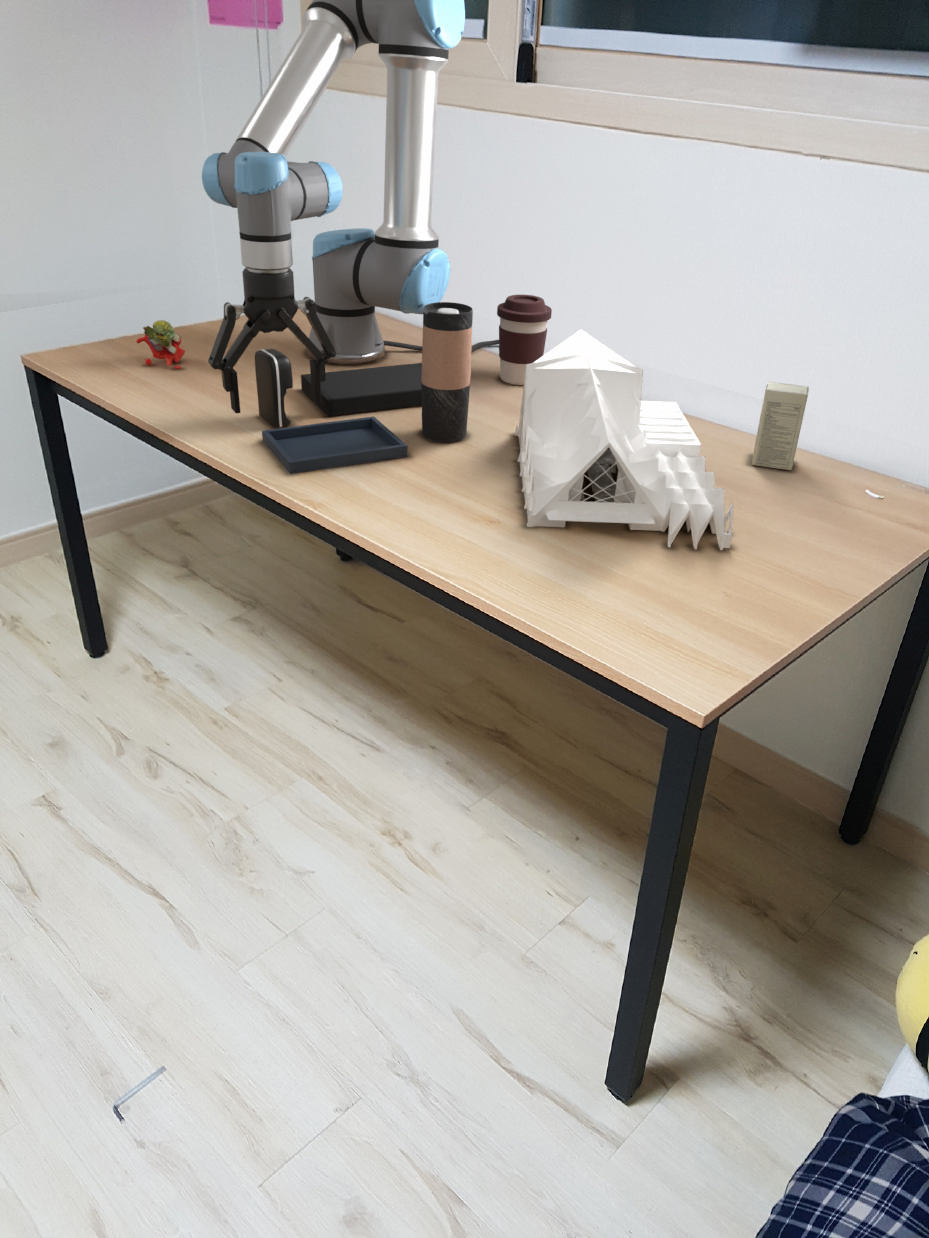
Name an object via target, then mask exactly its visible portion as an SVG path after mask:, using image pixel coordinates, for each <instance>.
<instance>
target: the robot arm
mask: <svg viewBox="0 0 929 1238" xmlns="http://www.w3.org/2000/svg"><path fill="white" fill-rule="evenodd" d="M465 23H466V8H465V0H312V1H311V3H310V4H309V5H308V7H307V9H306V10H305V12H304V13H303V15H302V19H301V27H302V30H301V31H300V33H299V35H298V37H297V38H296V40H295V41H294V43H293V45H292V46H291V48H290V50H289V52H288V53H287V55H286V57H285V58H284V59H283V61H282V63H281V65H280V66H279V68H278V70H277V71H276V73H275V75H274V77H273V78H272V80H271V81H270V83H269V85H268V86H267V88H266V89H265V91H264V93H263V95H262V96H261V98H260V99H259V101H258V103H257V104H256V106H255V108H254V109H253V111H252V113H251V114H250V115H249V118H248V119H247V121H246V123H245V124H244V126H243V128H242V129H241V131H240V133H239V134H238V136H237V138H236V139H235V142H234V143H233V145H232V146H231V148H230V150H229V151H228V152H224V151H220V152H215V153H212V154H211V155H209V156H208V157H206V159H205V161H204V163H203V165H202V170H201V182H202V186H203V190H204V191H205V193H206V195H207V196H208V198H209V199H210V200H211V201H213V202H214V203H216V204H220V205H223V206H228V207H231V208H234V209H237V219H238V228H239V233H238V234H239V243H240V255H241V257H240V259H241V265H242V266H243V267H245V268H243V270H242V272H241V274H242V284H243V285H242V287H243V296H244V297H243V298H244V300H243V303H242V304H231V302H229V301H227V302H224V303H223V318H222V321H221V324H220V326H219V329H218V332H217V335H216V338H215V341H214V343H213V346H212V348H211V351H210V354H209V356H208V359H207V363H208V364H209V366H210V367H211V368H212V369H213V370H218V371H220V373H221V381H222V382H221V383H222V387H223V389H224V391H225V392H226V393H229V397H230V399H229V400H230V408H231V409H232V411H233V412H234V414H241V403H240V391H239V379H238V372H237V370H236V369H234V368H235V366H236V365H237V363H238V361H240V358H241V357H242V355H243V354H244V353H245V351H246V350H247V348H248V347H249V345H250V344H251V343H252V341H253V339H254V338H256V337H257V336H258V334H259V333H260V332H261V333H263V334H269V333H273V332H277V333H281V332H284V331H285V330H286V329H288V330H289V331H290V332H291V333H292V334H293V335H294V337H295V338H296V339H297V340H298V341H299V342H300V343H301V344H302V345H303V346H304V347H305V348H306V350H307V356H309V358H311V359H309V374H310V377H311V398H312V400H313V401H315V402H316V403H317V404H319V403H321V384H320V382H322V381H325V379H326V372H327V371H326V365H327V364H331V365H332V364H333V365H363V364H368V363H373V362H376V361H379V360H381V359H382V358H383V357H384V356H385V346H387V347H392V348H393V347H394V348H400V349H407V350H412V351H417V352H422V346H421V345H417V344H409V343H404V342H399V341H397V342H396V341H389V340H384V339H383V336H382V332H381V329H380V326H379V323H378V319H377V316H376V308H382V309H385V310H392V311H397V312H401V313H403V314H405V315H409V314H415V315H423V307H424V306H425V305H427V304H430V303H437V302H442V299H443V298H444V296H445V294H446V292H447V289H448V287H449V286H448V285H449V281H450V276H451V263H450V260H449V256H448V254H447V253H446V252H445V251H443V249H440V248H439V241H440V239H439V238H440V236H439V234H437V231H435V230H434V228H433V227H432V217H433V216H432V215H433V196H434V195H433V194H434V176H435V175H434V174H435V156H436V155H435V154H436V133H437V114H438V94H439V92H438V91H439V73H440V71H441V70H442V69H443V68H444V67H445V66H446V65H447V64H448V63H449V52H450V51H449V50H450V49H453V48H455V47H457V45H458V44H459V43H460V42H461V39H462V35H463V34H464V30H465ZM368 44H375V45H376V44H377V45H378V58H379V59H380V60H381V61H382V62H383V64H384V66H385V67H386V104H385V107H386V109H385V140H384V141H385V142H384V145H385V146H384V147H385V148H384V180H383V181H384V183H383V186H384V187H383V193H384V194H383V220H382V221H383V222H382V224H380V226H379V227H378V228H377V229H376V230H375V231H374V230H373V229H371V228H367V227H365V228H345V229H335V230H329V231H324V232H323V231H322V232H320V233H318V234H316V235H315V237H314V238H313V240H312V256H311V261H312V275H313V277H312V278H313V293H314V295H313V296H314V300H313V299H312V298H311V297H309V296H304V297H303V299H299V300H296V298H295V281H294V279H295V278H294V271H293V270H292V269H291V267H292V266H293V265H294V258H293V244H292V224H291V222H293V221H300V220H304V219H311V218H316V217H317V218H322V216H325V215H327V214H330V213H333V212H334V211H336V210H337V209H338V207H339V206H340V204H341V202H342V200H343V194H344V193H343V191H344V190H343V182H342V179H341V176H340V174H339V172H338V171H337V169H336V168H335V167H333V166H332V165H331V164H329V163H327V162H324V161H314V160H310V161H308V162H296V161H289V160H287V155H288V153H289V152H290V150H291V149H292V147H293V145H294V144H295V142H296V140H297V139H298V137H299V135H300V133H301V131H302V130H303V128H304V126H305V125H306V123H307V121H308V120H309V118H310V116H311V115H312V113H313V111H314V110H315V108H316V106H317V104H319V101H320V99H321V98H322V96H323V95H324V93H325V91H326V89H327V88H328V86H329V84H330V83H331V81H332V79H333V78H334V76H335V74H336V72H337V71H338V69H339V68H340V66H341V64H342V63H345V62H348V61H350V60H351V59H352V58H353V56H354V55H355V54H356V51H357V50H358V49H359V48H360V47H362V46H366V45H368ZM298 310H299V311H300V312H301V313H302V314H304V315H305V317H306V319H307V321H308V324H309V325H310V326H311V328H310V331H309V336H307V335H306V333H305V332H304V331H303V330H302V328H301V327H299V325H298V324H297V322H295V321H294V320H293V319H294V317H295V315H296V314H297V313H298ZM242 314H244V316H245V317H246V318H247V320H246V322H245V323H244V324H243V326H242V330H241V331H240V332H239V334H238V335H237V337H236V338H235V340H234V342H233V343H232V344H231V345H230V347H229V349H228V350H227V348H228V345H229V342H230V340H231V337H232V334H233V332H234V329H235V327H236V323H237V321H238V320H239V319H240V317H241V316H242ZM497 345H499V339H494V340H486V341H480V342H479V341H478V342H476V343H474V344H472V347H471V353H472V352H474V351H476V350H477V349H479V348H482V347H488V346H497ZM226 350H227V351H226Z"/></svg>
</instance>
